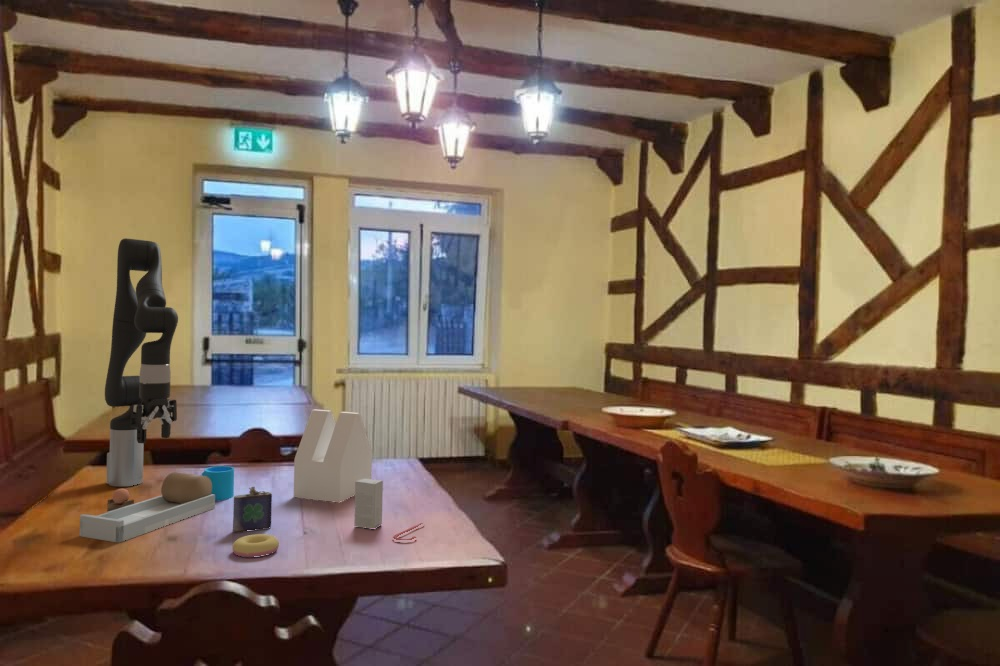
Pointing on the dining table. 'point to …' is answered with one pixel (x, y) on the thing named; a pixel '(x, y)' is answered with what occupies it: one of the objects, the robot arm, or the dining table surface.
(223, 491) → the mug
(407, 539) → the candy cane
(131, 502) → the brown wooden bracket block
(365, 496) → the skincare box
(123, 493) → the ball
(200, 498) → the lane
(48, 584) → the dining table surface
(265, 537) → the donut
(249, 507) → the flask
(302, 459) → the white slotted block
